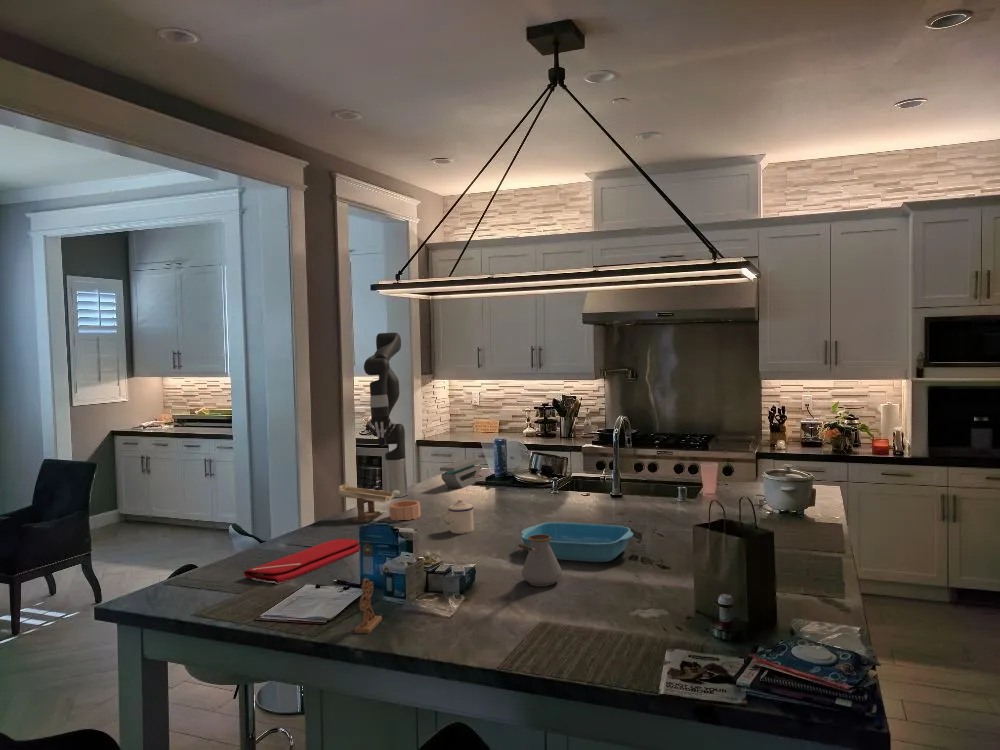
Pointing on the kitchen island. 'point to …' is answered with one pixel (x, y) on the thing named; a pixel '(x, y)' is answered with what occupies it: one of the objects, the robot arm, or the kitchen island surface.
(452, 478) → the grey heat sealer
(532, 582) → the coffee pot
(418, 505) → the terracotta bowl
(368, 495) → the ramp
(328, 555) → the dish drying mat
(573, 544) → the casserole dish
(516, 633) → the kitchen island surface
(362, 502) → the ramp stand
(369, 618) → the wooden sculpture
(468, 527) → the teacup with lid
